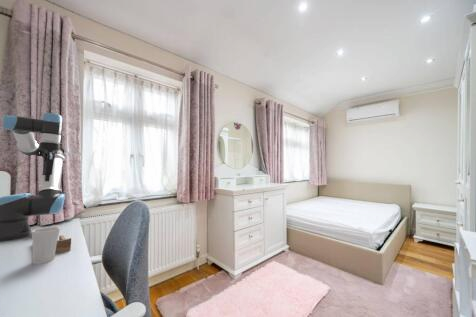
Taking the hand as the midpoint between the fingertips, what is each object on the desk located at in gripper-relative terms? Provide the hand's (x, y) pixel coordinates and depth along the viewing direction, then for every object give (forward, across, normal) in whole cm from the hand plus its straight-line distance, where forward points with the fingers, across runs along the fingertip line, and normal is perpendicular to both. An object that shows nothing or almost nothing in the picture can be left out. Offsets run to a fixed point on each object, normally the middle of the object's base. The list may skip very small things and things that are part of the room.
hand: (45, 187), depth 100 cm
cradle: (+27, +14, +2) cm, 31 cm away
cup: (+27, +32, -3) cm, 42 cm away
